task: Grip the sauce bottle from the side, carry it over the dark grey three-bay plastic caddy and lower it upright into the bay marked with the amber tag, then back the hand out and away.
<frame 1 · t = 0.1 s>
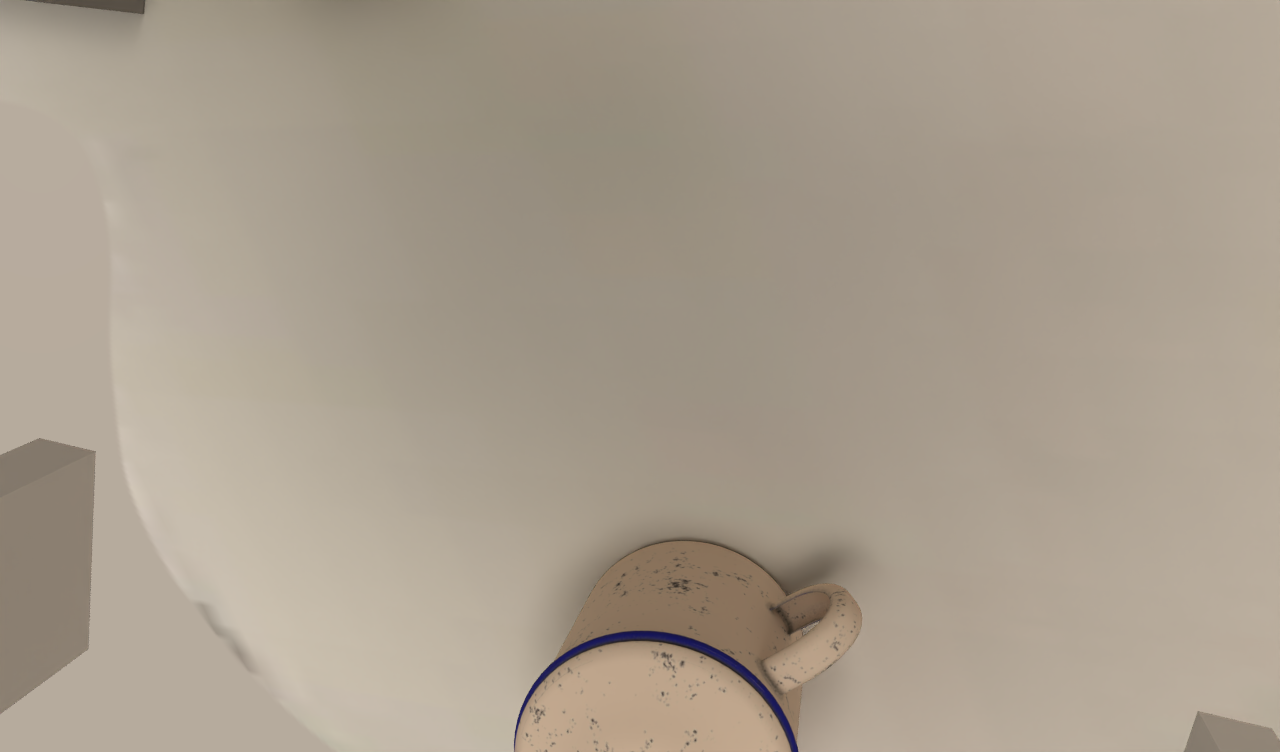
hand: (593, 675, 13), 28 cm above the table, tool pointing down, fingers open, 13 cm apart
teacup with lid: (723, 621, 43), on the table
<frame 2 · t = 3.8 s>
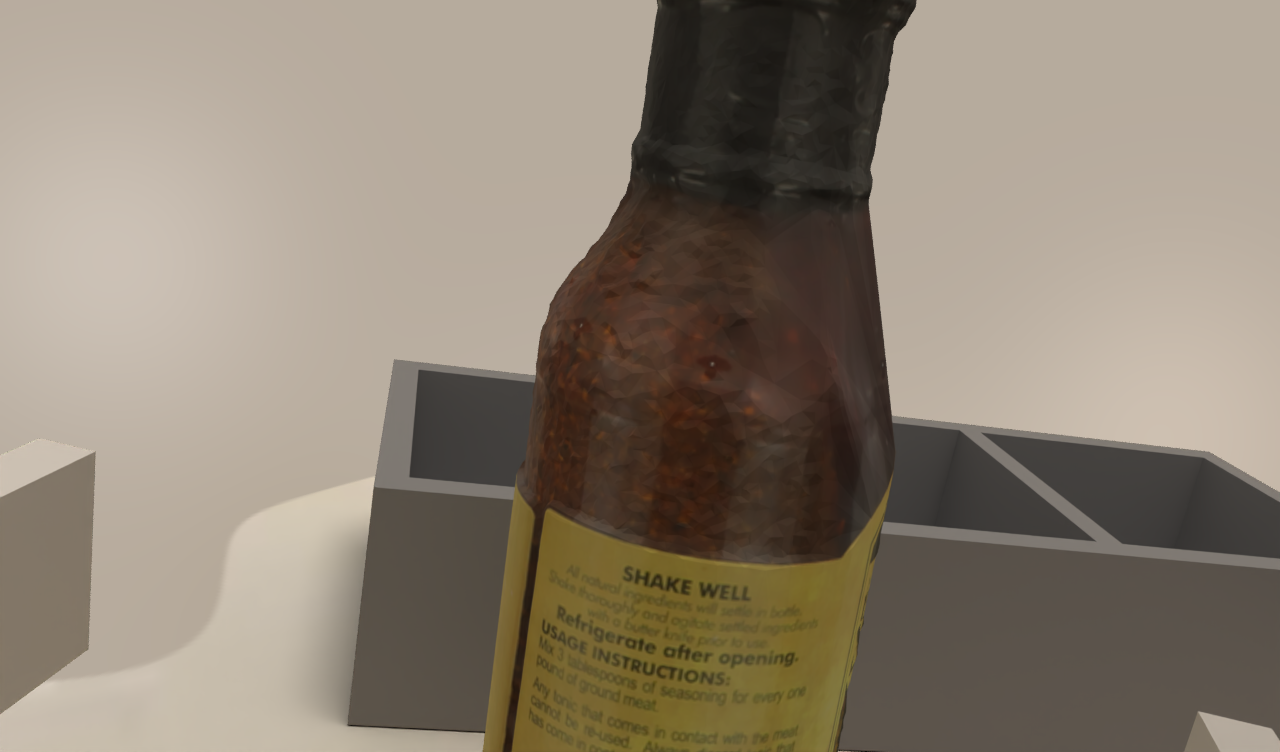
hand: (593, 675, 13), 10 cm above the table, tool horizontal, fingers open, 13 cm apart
caddy: (841, 652, 37), on the table
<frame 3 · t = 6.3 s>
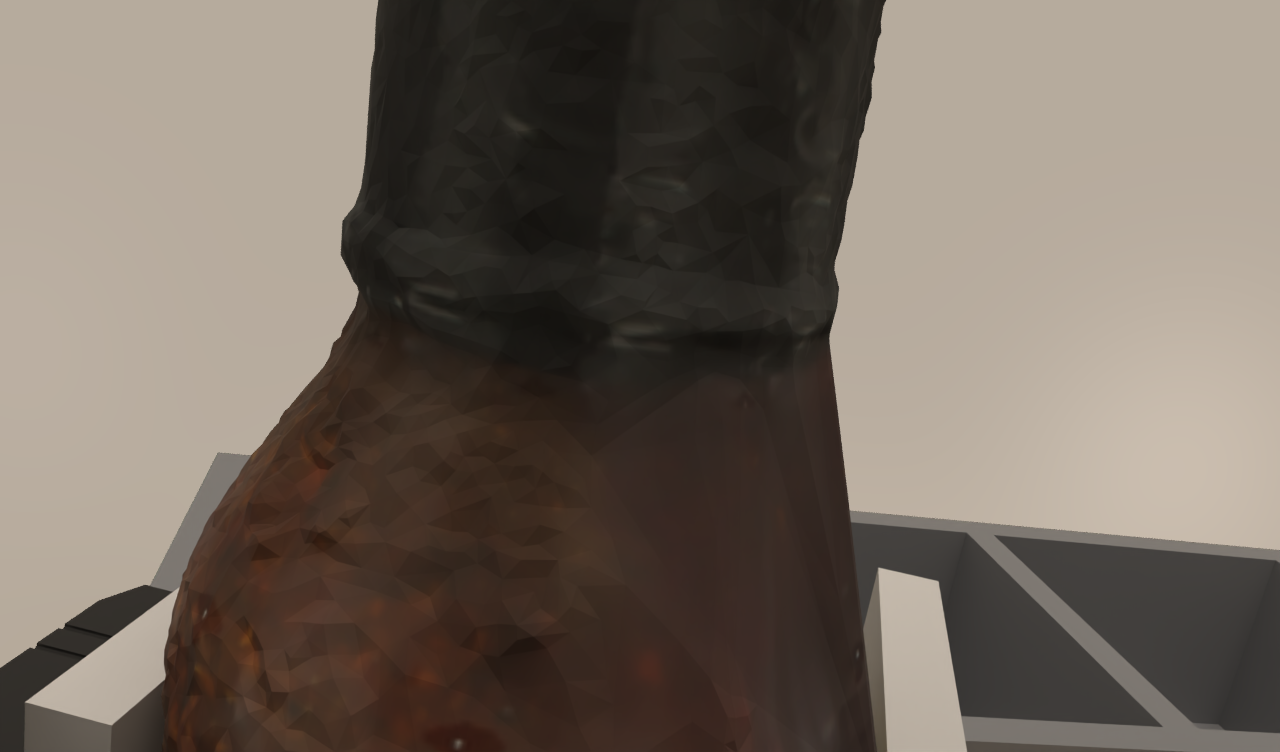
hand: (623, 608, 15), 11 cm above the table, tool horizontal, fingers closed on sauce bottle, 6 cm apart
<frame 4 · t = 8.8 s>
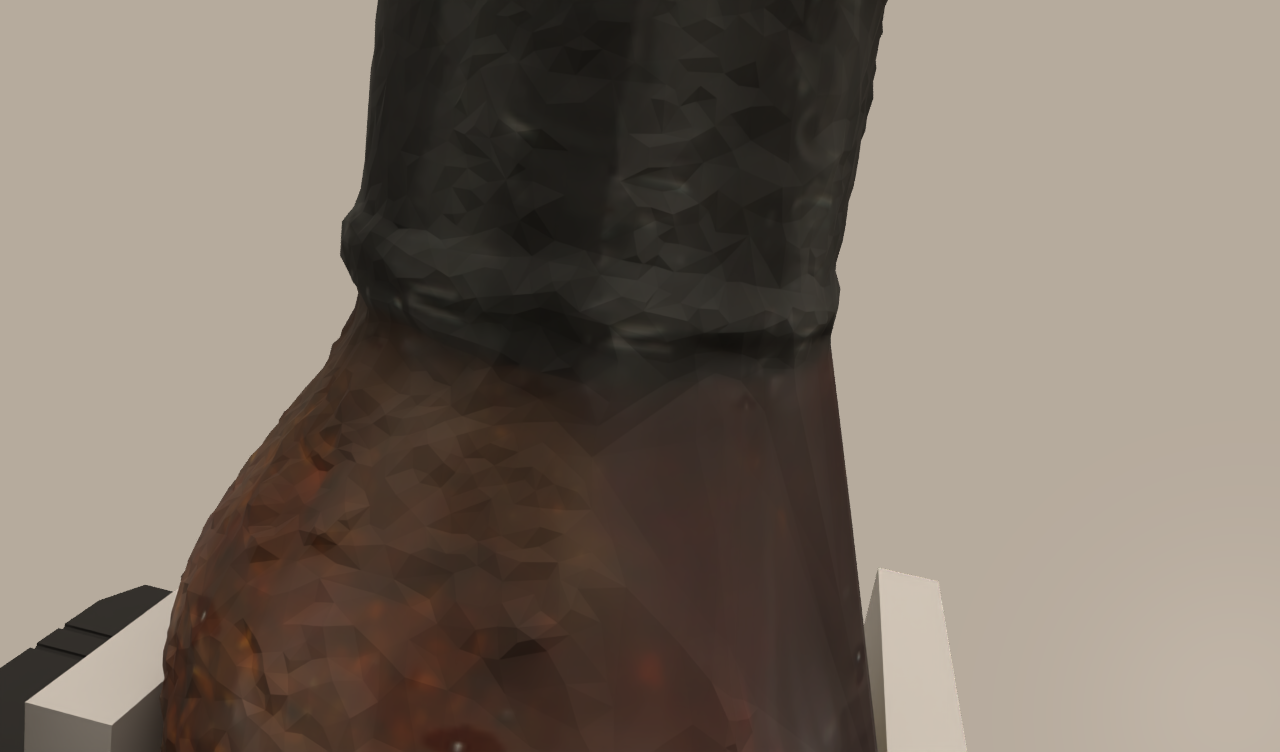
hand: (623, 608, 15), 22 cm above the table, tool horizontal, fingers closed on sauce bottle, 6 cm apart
when the fingers open (13 cm above the table, at t = 11.8 s): sauce bottle drops 1 cm, resting on caddy.
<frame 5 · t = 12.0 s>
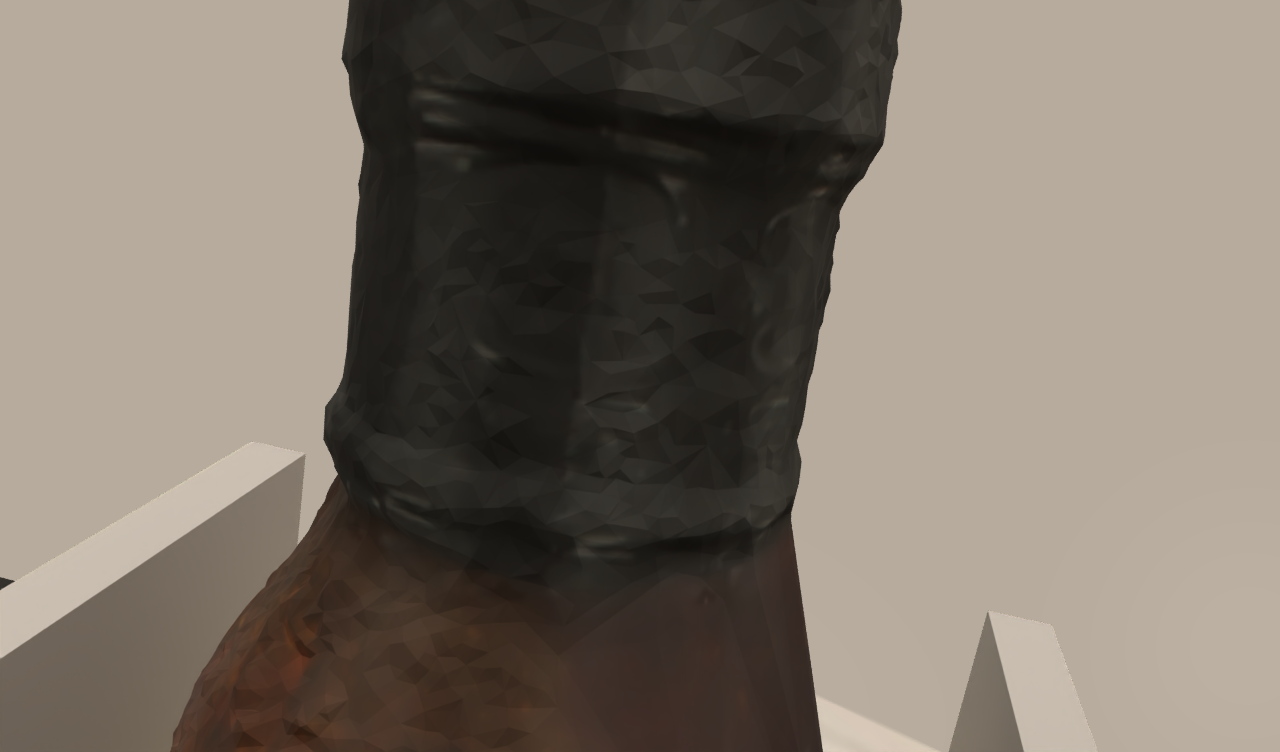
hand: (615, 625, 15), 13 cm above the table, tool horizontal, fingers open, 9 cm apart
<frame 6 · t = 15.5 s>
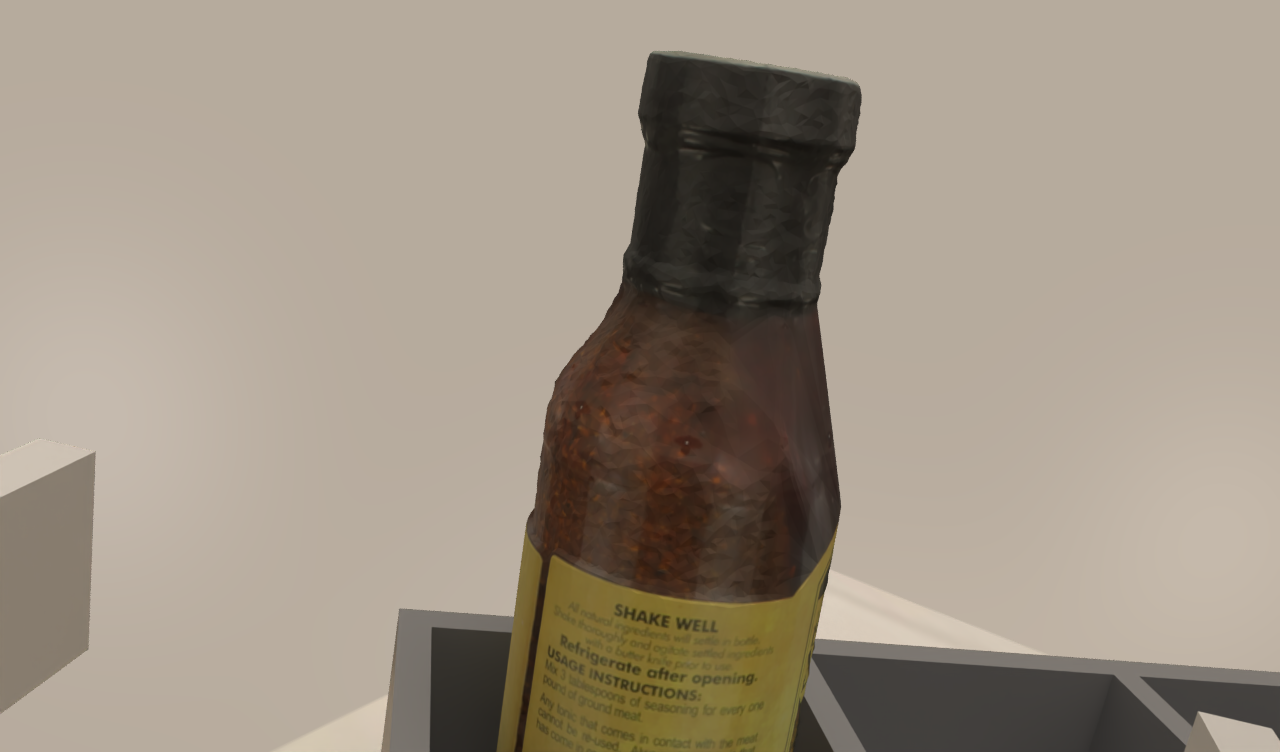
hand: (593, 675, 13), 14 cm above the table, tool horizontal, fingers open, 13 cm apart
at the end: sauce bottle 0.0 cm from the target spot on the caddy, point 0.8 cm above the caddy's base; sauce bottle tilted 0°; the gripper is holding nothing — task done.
